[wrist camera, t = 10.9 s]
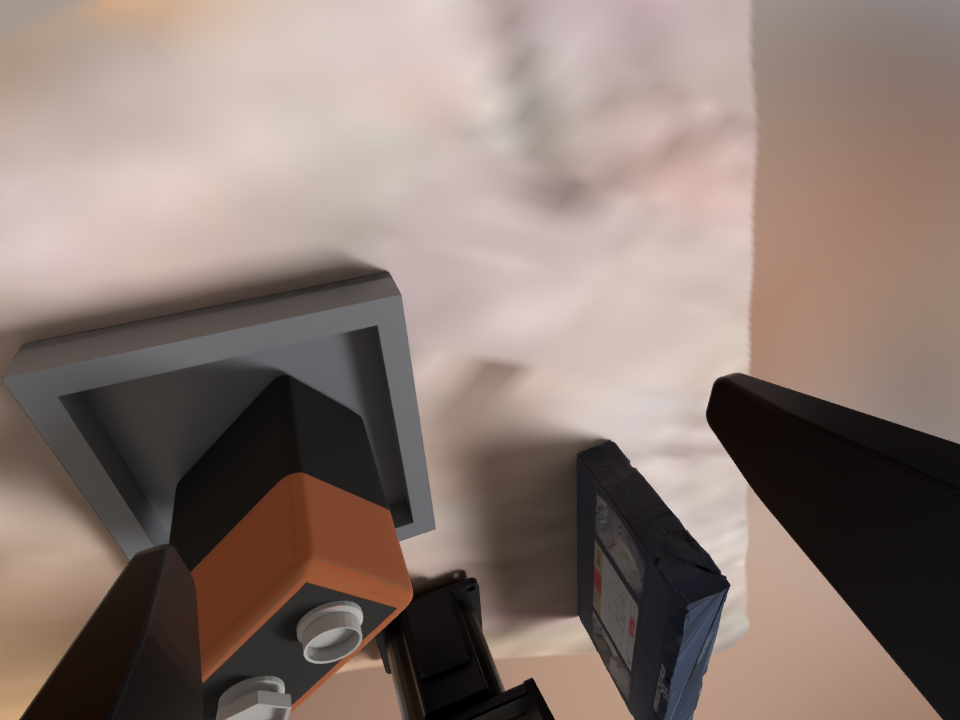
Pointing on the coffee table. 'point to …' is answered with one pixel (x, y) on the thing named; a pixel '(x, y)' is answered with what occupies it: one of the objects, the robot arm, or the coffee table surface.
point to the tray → (221, 395)
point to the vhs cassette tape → (643, 588)
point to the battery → (286, 552)
